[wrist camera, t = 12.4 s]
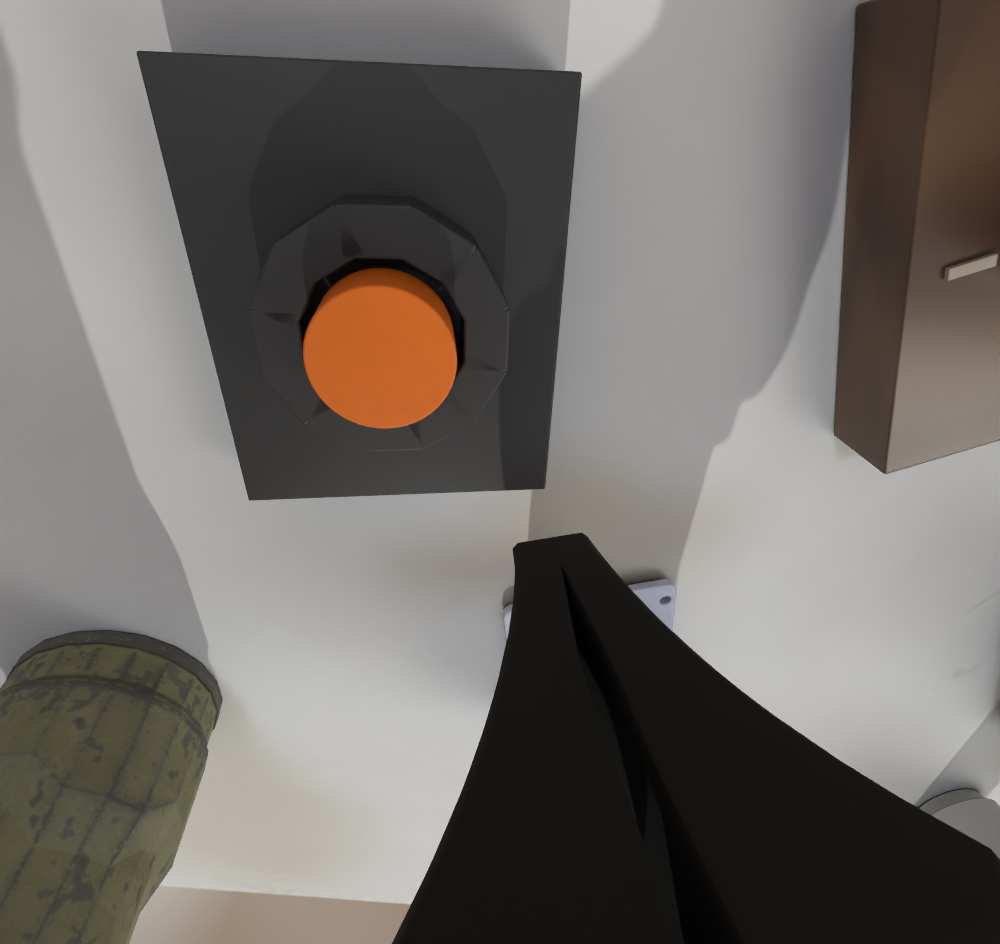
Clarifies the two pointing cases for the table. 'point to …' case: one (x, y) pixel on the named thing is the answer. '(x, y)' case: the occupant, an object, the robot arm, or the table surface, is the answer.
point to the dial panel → (922, 234)
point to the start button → (381, 349)
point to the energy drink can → (968, 815)
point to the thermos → (96, 781)
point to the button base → (373, 251)
